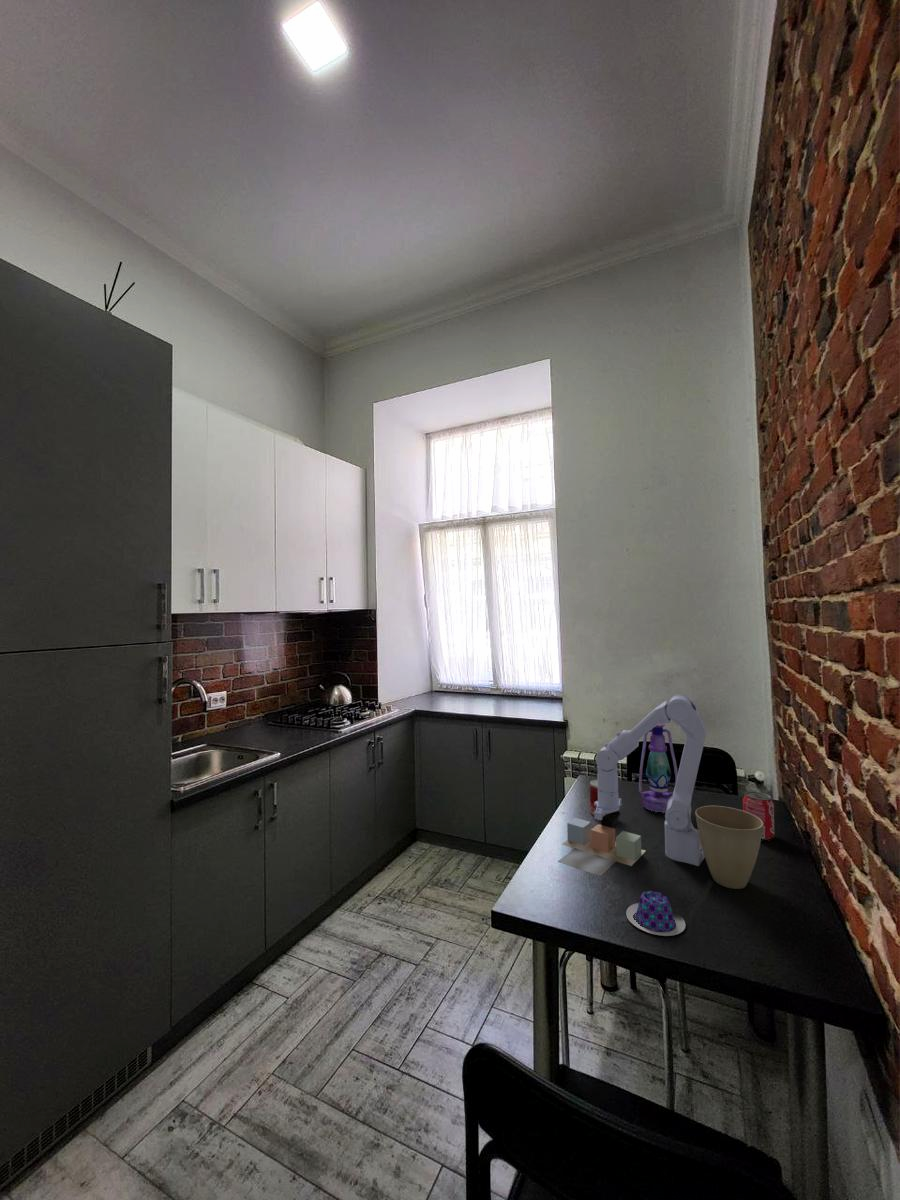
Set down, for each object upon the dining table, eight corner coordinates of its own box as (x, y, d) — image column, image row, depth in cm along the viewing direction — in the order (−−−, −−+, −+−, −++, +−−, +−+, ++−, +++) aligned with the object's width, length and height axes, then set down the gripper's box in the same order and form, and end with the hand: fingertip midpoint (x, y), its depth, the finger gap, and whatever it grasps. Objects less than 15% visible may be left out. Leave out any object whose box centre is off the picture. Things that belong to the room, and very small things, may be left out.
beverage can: (765, 830, 153) (764, 791, 153) (780, 842, 145) (779, 800, 145) (738, 829, 154) (737, 790, 154) (751, 841, 146) (750, 799, 146)
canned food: (610, 823, 159) (609, 789, 159) (586, 817, 164) (585, 784, 164) (618, 815, 165) (617, 782, 166) (595, 810, 170) (594, 777, 170)
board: (646, 854, 139) (645, 850, 139) (616, 885, 123) (616, 881, 123) (579, 834, 152) (579, 831, 152) (544, 860, 136) (544, 856, 136)
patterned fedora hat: (614, 913, 112) (614, 890, 112) (654, 900, 117) (653, 878, 117) (656, 945, 101) (655, 919, 101) (698, 930, 106) (697, 904, 106)
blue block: (591, 839, 146) (590, 822, 146) (583, 845, 142) (583, 827, 142) (575, 834, 149) (575, 817, 149) (567, 840, 145) (567, 823, 146)
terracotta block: (615, 846, 141) (614, 828, 141) (608, 853, 137) (607, 834, 138) (598, 841, 144) (598, 824, 145) (591, 847, 141) (590, 829, 141)
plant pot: (729, 902, 115) (727, 832, 116) (683, 871, 129) (682, 809, 130) (780, 892, 119) (778, 825, 120) (730, 862, 133) (728, 802, 134)
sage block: (641, 854, 137) (640, 835, 137) (634, 861, 133) (634, 842, 133) (623, 848, 140) (623, 830, 140) (616, 855, 136) (616, 837, 136)
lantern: (645, 815, 166) (643, 724, 167) (634, 802, 177) (632, 717, 178) (686, 815, 165) (683, 724, 166) (671, 802, 177) (669, 717, 178)
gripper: (605, 780, 153) (606, 825, 152) (583, 793, 142) (584, 841, 141) (627, 785, 148) (628, 831, 148) (607, 799, 137) (608, 849, 137)
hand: (608, 837), depth 144 cm, fingers closed
